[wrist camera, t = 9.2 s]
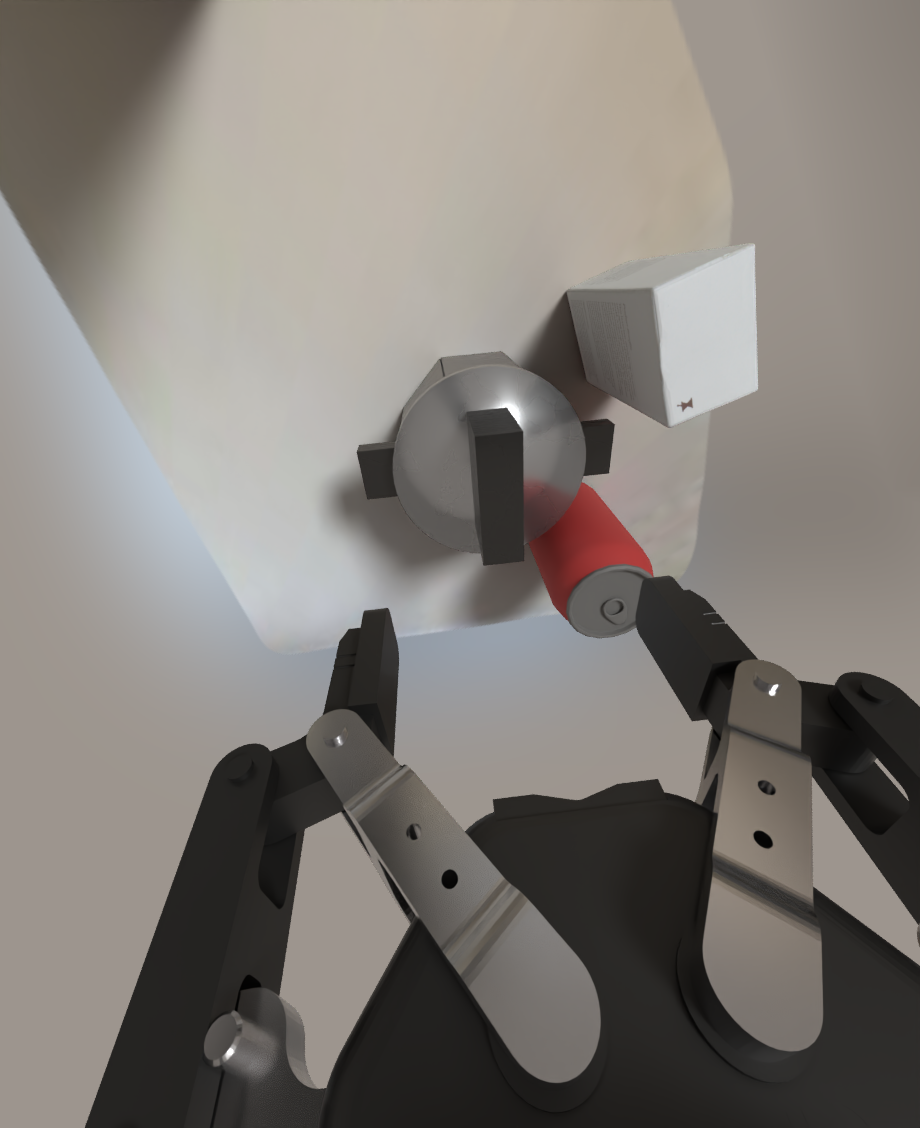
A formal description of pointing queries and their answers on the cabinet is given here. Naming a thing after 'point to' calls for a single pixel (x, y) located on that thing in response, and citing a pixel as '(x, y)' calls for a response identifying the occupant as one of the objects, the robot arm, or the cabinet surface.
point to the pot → (380, 455)
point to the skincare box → (671, 331)
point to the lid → (489, 460)
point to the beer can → (592, 567)
